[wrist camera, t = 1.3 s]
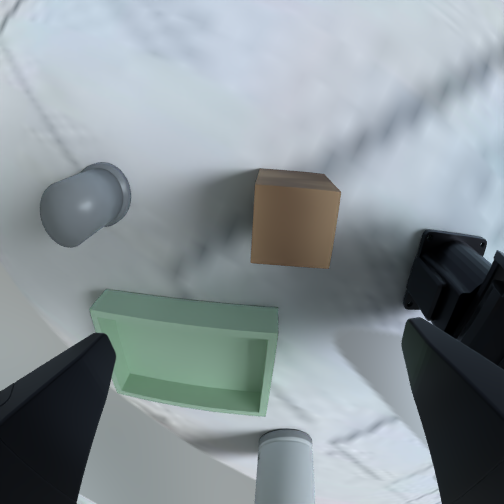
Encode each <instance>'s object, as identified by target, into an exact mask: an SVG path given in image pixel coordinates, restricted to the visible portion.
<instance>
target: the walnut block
mask: <svg viewBox="0 0 504 504" xmlns="http://www.w3.org/2000/svg"><path fill="white" fill-rule="evenodd" d="M340 197H341V191H340V190H339V189H338V188H337V187H336V186H335V185H334V184H333V183H332V182H331V181H330V180H329V179H328V178H327V177H326V176H325V175H324V174H318V173H309V172H298V171H287V170H275V169H261V168H260V169H259V173H258V176H257V179H256V183H255V194H254V212H253V229H252V246H251V263H256V264H269V265H282V266H295V267H309V268H323V269H329V266H330V260H331V255H332V249H333V243H334V237H335V231H336V224H337V218H338V211H339V204H340Z"/></svg>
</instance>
